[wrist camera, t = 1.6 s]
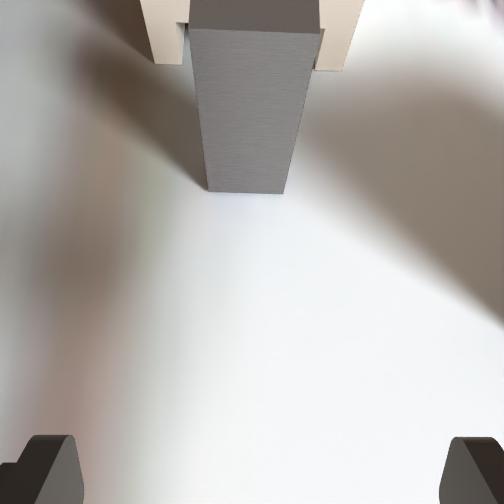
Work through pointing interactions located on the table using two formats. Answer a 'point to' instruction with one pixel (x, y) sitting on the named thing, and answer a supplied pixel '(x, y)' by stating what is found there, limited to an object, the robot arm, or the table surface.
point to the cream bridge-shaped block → (177, 14)
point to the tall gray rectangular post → (251, 87)
